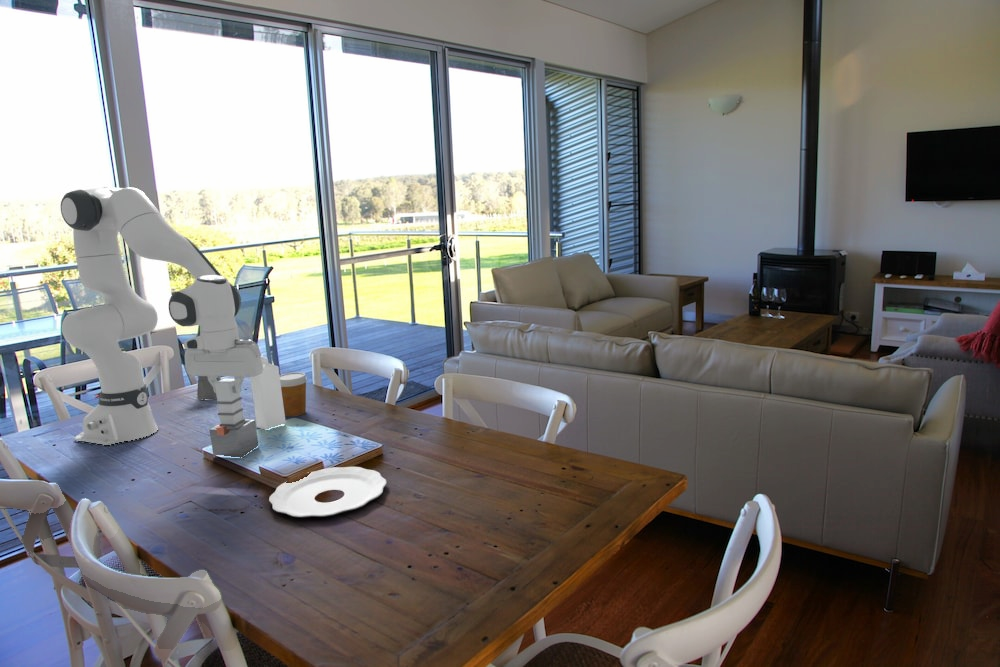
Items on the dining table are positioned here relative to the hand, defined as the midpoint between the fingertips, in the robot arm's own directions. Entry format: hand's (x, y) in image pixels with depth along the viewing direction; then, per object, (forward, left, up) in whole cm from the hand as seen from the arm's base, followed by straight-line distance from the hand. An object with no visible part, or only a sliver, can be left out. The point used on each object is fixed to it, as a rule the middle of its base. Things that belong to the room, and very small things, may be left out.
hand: (227, 392), depth 175 cm
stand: (0, 0, -18) cm, 18 cm away
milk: (-2, +20, -18) cm, 27 cm away
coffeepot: (-43, +51, -18) cm, 69 cm away
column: (0, 0, -13) cm, 13 cm away
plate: (+36, -19, -18) cm, 45 cm away
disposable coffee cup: (-3, +35, -18) cm, 39 cm away
